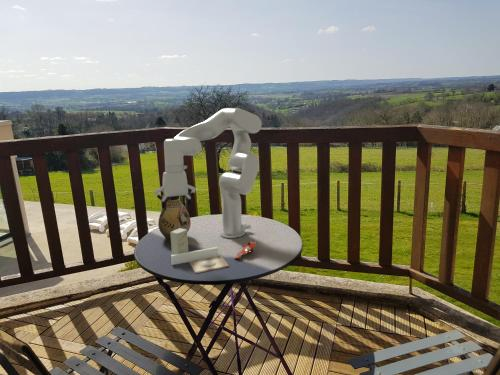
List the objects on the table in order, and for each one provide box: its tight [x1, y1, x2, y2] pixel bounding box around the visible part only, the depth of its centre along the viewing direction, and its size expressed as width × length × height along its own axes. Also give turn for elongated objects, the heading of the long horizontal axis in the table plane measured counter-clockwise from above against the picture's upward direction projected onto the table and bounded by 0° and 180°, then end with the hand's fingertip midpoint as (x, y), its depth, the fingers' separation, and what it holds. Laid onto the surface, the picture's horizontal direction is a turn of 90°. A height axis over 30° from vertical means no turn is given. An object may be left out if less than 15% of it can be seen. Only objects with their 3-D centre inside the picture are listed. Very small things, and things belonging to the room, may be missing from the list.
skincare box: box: [170, 228, 189, 255], centre depth 157 cm, size 6×4×12 cm
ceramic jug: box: [157, 196, 192, 243], centre depth 177 cm, size 17×15×30 cm
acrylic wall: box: [170, 246, 219, 266], centre depth 155 cm, size 20×1×4 cm, turn 113°
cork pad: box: [188, 255, 230, 274], centre depth 150 cm, size 14×10×1 cm
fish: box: [234, 240, 257, 260], centre depth 160 cm, size 13×5×9 cm
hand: (176, 208), depth 154 cm, fingers open, 9 cm apart
